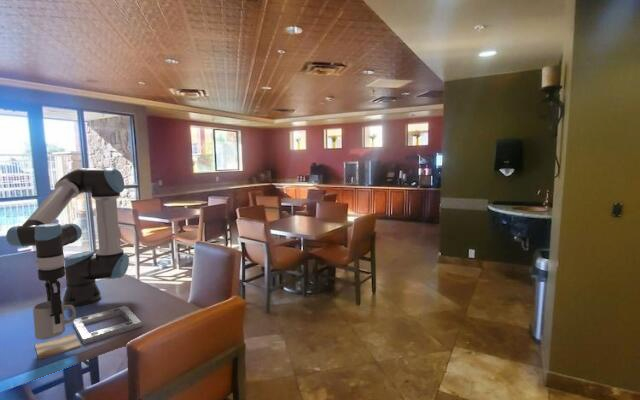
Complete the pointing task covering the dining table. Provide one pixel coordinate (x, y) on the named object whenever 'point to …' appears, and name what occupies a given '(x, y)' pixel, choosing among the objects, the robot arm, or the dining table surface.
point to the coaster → (57, 346)
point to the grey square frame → (103, 333)
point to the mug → (48, 320)
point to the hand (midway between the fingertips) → (56, 327)
